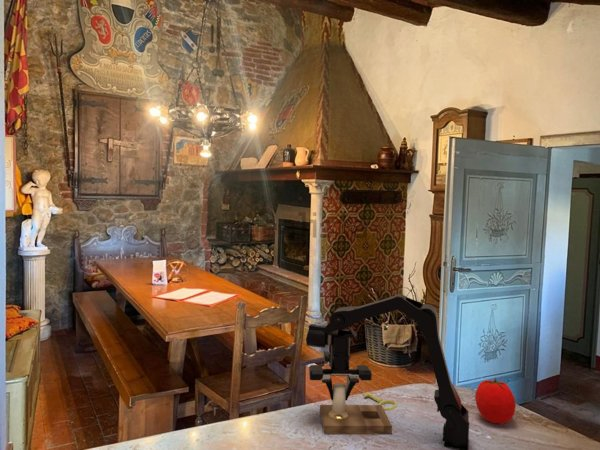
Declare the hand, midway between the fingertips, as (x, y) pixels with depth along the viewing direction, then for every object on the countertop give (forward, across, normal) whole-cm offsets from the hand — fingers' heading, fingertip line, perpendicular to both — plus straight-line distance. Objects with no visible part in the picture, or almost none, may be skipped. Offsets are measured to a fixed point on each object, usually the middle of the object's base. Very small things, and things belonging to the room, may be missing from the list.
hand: (339, 399), depth 145 cm
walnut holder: (+7, -5, 0) cm, 9 cm away
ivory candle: (+4, 0, 0) cm, 4 cm away
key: (+8, -16, -14) cm, 23 cm away
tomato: (+8, -50, -1) cm, 50 cm away
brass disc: (+5, 0, 0) cm, 5 cm away
